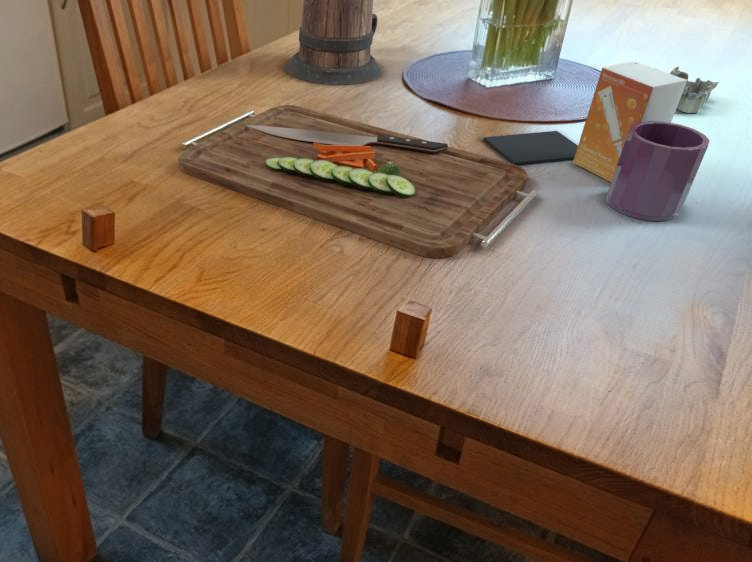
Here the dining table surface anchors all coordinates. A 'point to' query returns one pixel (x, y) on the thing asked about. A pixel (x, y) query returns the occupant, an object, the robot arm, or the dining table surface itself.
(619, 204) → the plum cup
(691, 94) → the egg carton
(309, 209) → the chopping board
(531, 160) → the coaster pad
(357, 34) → the tankard
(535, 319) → the dining table surface
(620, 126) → the small box
